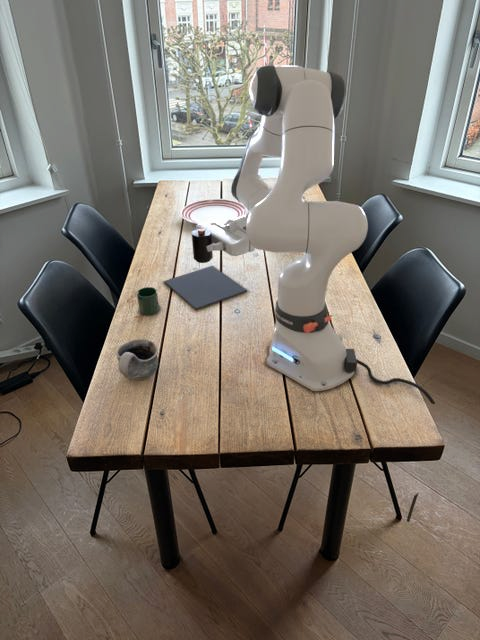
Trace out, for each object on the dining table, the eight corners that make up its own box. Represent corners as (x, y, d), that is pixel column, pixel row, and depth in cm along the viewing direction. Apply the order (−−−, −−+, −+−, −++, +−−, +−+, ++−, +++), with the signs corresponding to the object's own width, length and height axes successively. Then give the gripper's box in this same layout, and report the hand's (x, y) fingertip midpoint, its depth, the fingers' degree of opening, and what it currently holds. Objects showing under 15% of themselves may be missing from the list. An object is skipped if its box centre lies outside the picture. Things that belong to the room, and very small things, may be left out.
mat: (246, 291, 145) (246, 289, 145) (196, 310, 137) (196, 308, 136) (212, 267, 159) (212, 265, 159) (164, 282, 151) (164, 281, 150)
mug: (164, 361, 117) (159, 328, 112) (155, 396, 107) (149, 361, 101) (125, 361, 118) (119, 328, 112) (112, 395, 107) (105, 361, 102)
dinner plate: (241, 232, 182) (241, 224, 181) (173, 229, 186) (172, 221, 184) (251, 207, 205) (251, 200, 203) (190, 204, 209) (189, 197, 207)
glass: (162, 311, 137) (160, 293, 133) (144, 317, 134) (142, 299, 131) (153, 302, 140) (151, 285, 137) (136, 308, 138) (133, 290, 134)
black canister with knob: (213, 263, 141) (212, 233, 135) (194, 264, 140) (192, 234, 135) (211, 254, 146) (210, 225, 140) (193, 256, 145) (190, 226, 139)
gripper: (217, 212, 151) (180, 223, 144) (257, 233, 138) (219, 246, 131) (218, 231, 155) (182, 242, 148) (257, 252, 141) (219, 266, 134)
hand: (199, 244), depth 139 cm, fingers closed on black canister with knob, 6 cm apart
